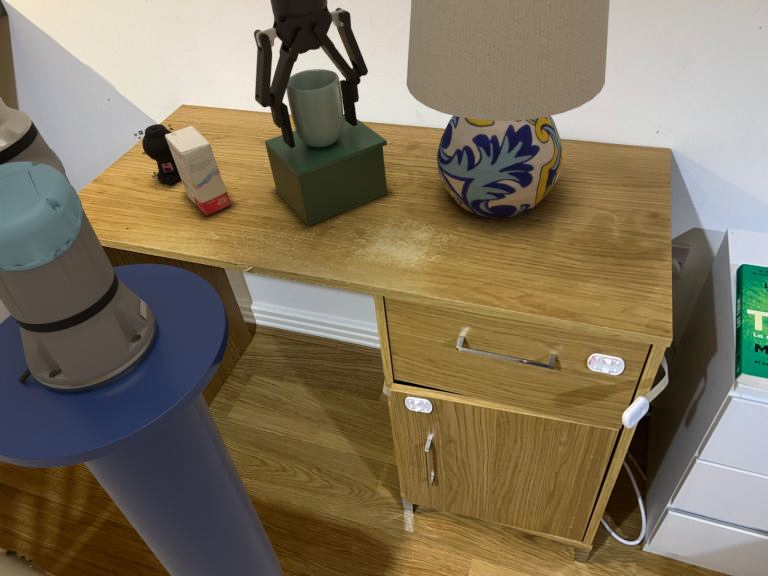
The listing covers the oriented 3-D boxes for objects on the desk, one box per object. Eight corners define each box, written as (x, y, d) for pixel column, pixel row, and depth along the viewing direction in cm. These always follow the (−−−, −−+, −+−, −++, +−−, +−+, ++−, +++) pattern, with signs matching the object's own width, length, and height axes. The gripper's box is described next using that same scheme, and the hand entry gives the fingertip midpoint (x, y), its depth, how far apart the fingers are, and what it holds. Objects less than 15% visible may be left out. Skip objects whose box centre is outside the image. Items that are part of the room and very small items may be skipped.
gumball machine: (151, 189, 105) (131, 138, 98) (153, 173, 109) (134, 123, 103) (189, 182, 106) (172, 131, 99) (190, 166, 110) (173, 116, 103)
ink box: (232, 206, 99) (213, 142, 91) (203, 218, 97) (181, 154, 89) (212, 185, 104) (192, 123, 96) (185, 196, 102) (163, 133, 95)
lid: (348, 116, 100) (348, 112, 100) (387, 144, 92) (386, 140, 92) (265, 145, 95) (264, 140, 95) (298, 177, 87) (297, 173, 86)
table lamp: (440, 143, 109) (436, -117, 82) (593, 160, 100) (644, -123, 74) (388, 228, 91) (361, -70, 64) (570, 258, 82) (627, -72, 55)
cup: (354, 133, 94) (347, 71, 88) (332, 156, 89) (322, 93, 82) (312, 127, 97) (302, 66, 90) (288, 149, 92) (275, 87, 85)
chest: (350, 163, 106) (344, 118, 100) (387, 194, 98) (382, 146, 92) (276, 191, 101) (265, 145, 95) (308, 226, 93) (298, 178, 87)
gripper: (356, -45, 84) (371, 103, 98) (203, -9, 76) (244, 147, 91) (383, -36, 79) (395, 119, 93) (223, 4, 71) (263, 166, 86)
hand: (320, 133), depth 92 cm, fingers open, 10 cm apart
